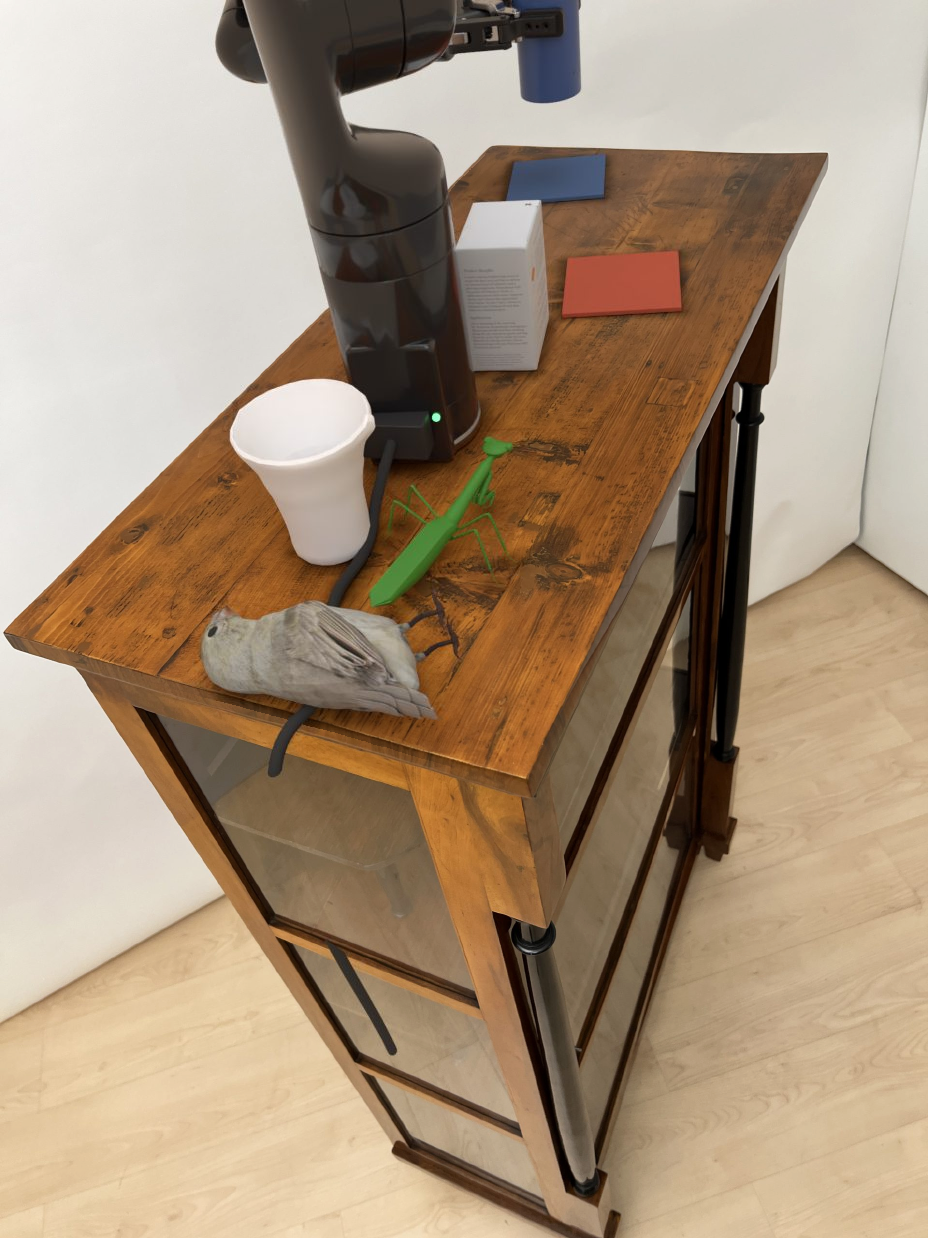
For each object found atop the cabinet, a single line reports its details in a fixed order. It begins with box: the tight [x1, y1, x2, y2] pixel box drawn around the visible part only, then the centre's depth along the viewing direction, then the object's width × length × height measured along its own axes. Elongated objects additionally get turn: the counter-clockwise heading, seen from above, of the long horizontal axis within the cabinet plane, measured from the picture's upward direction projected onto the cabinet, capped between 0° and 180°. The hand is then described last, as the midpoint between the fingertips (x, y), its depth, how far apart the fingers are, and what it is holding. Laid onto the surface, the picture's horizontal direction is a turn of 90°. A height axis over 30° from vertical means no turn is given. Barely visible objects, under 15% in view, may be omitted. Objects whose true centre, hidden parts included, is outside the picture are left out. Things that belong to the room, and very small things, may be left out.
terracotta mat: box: [561, 250, 683, 319], centre depth 83 cm, size 10×10×1 cm
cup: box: [229, 378, 375, 566], centre depth 61 cm, size 9×9×10 cm
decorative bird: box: [200, 582, 463, 721], centre depth 54 cm, size 5×16×7 cm
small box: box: [456, 200, 550, 372], centre depth 75 cm, size 8×6×10 cm
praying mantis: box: [368, 435, 516, 608], centre depth 61 cm, size 9×15×4 cm, turn 145°
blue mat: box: [505, 153, 607, 204], centre depth 100 cm, size 10×10×1 cm
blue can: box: [514, 0, 582, 104], centre depth 89 cm, size 6×6×12 cm
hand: (571, 9), depth 88 cm, fingers closed on blue can, 6 cm apart
